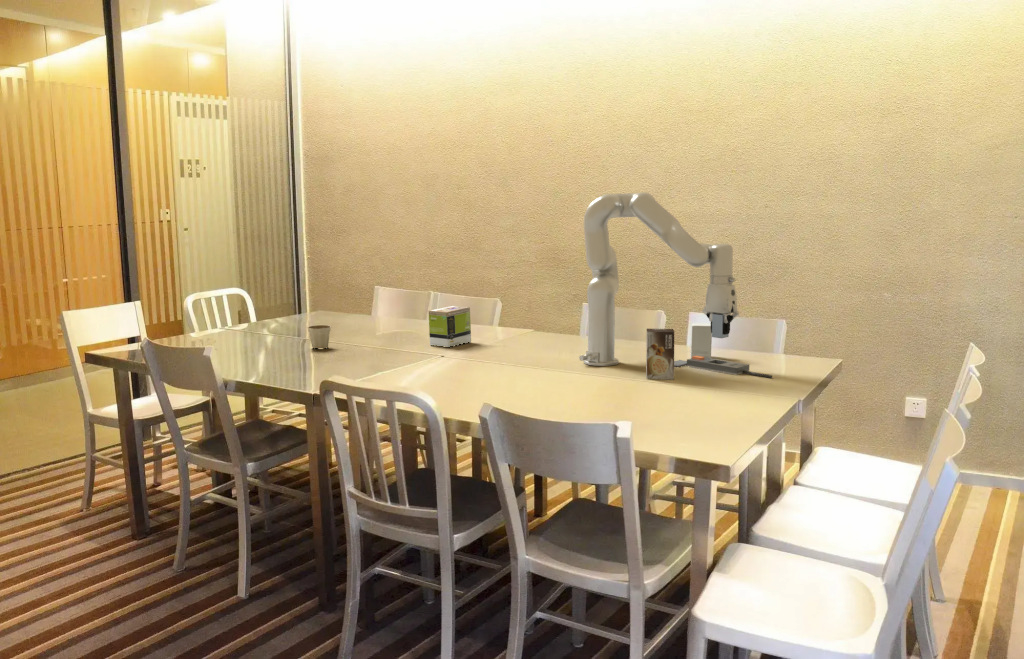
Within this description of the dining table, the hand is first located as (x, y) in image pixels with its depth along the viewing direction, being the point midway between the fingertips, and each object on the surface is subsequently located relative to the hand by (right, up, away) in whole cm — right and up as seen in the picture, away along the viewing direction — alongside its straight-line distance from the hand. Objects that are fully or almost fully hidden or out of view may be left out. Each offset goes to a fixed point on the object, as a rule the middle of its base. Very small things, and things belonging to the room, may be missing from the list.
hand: (720, 332), depth 291 cm
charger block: (0, -1, 0) cm, 1 cm away
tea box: (-97, -5, +51) cm, 109 cm away
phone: (-12, -12, +10) cm, 20 cm away
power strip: (+3, -13, -2) cm, 14 cm away
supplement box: (-2, -10, +21) cm, 23 cm away
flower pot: (-148, -7, +44) cm, 154 cm away
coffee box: (-23, -15, -10) cm, 29 cm away
